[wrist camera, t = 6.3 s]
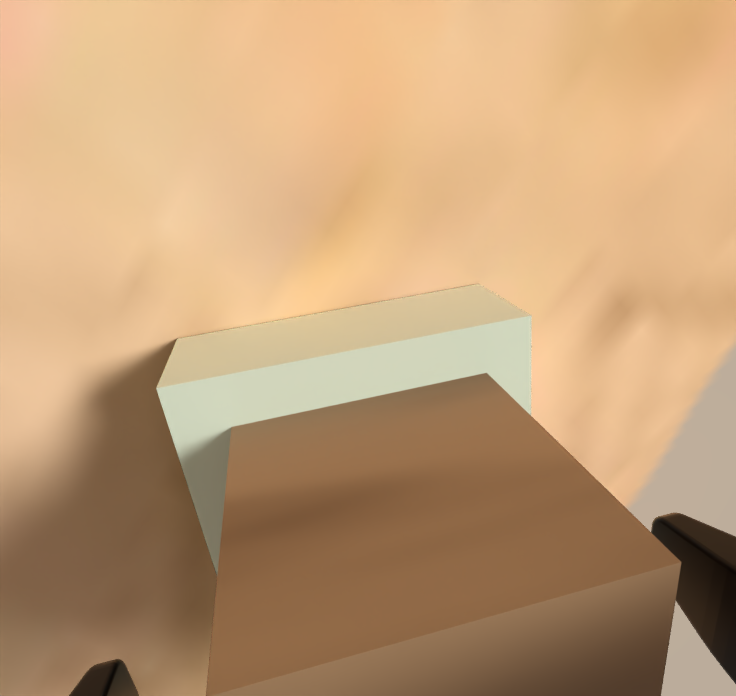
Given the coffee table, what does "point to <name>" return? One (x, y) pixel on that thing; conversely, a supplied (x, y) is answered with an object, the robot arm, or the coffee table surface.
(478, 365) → the pale green block
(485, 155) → the coffee table surface
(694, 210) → the coffee table surface
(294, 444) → the walnut cube
